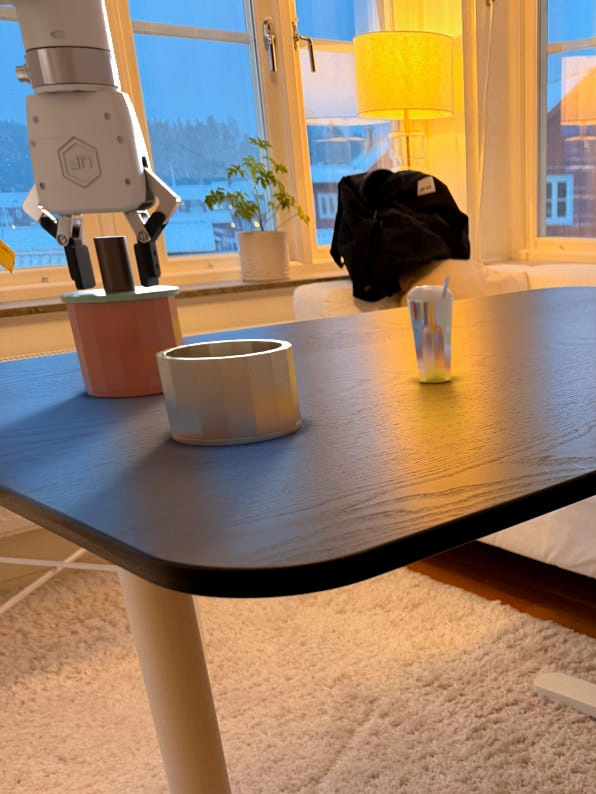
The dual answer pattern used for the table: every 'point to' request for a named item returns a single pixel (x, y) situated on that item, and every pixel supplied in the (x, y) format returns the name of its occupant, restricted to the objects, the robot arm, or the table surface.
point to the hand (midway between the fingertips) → (118, 285)
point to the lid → (116, 277)
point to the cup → (123, 344)
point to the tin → (230, 391)
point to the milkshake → (432, 330)
